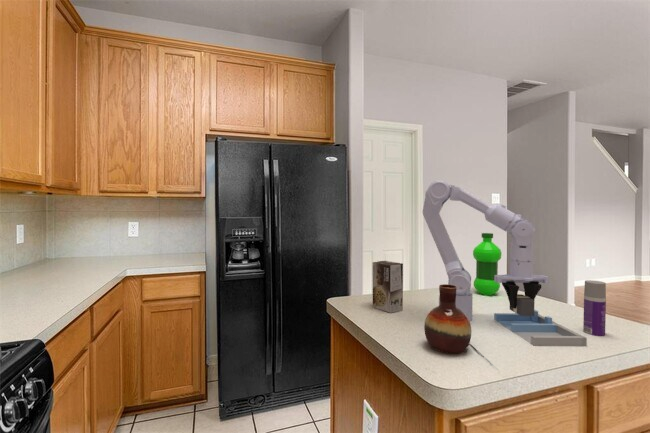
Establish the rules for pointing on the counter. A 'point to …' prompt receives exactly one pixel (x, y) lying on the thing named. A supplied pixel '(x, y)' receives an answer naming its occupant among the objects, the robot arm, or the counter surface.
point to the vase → (447, 324)
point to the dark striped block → (524, 306)
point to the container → (594, 308)
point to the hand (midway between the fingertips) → (520, 307)
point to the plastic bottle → (486, 265)
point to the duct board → (540, 330)
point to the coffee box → (388, 286)
